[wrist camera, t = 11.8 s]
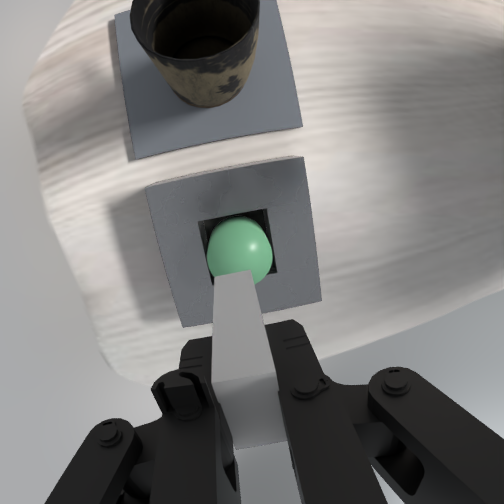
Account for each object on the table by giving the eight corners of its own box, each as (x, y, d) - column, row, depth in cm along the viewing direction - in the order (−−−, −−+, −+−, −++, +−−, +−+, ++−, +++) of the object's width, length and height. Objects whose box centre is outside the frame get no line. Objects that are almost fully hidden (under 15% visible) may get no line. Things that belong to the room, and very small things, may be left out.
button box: (292, 155, 23) (303, 156, 19) (310, 281, 26) (321, 301, 22) (156, 182, 22) (144, 187, 19) (187, 305, 26) (182, 327, 22)
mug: (264, 83, 20) (304, 18, 9) (197, 125, 21) (167, 97, 9) (203, 4, 18) (189, -97, 6) (138, 44, 18) (72, -32, 7)
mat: (271, -13, 18) (271, -17, 18) (301, 127, 22) (302, 126, 21) (116, 17, 18) (114, 14, 17) (138, 159, 22) (135, 159, 21)
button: (261, 210, 21) (266, 220, 18) (270, 264, 22) (276, 281, 19) (204, 221, 21) (200, 233, 18) (216, 275, 22) (214, 293, 19)
